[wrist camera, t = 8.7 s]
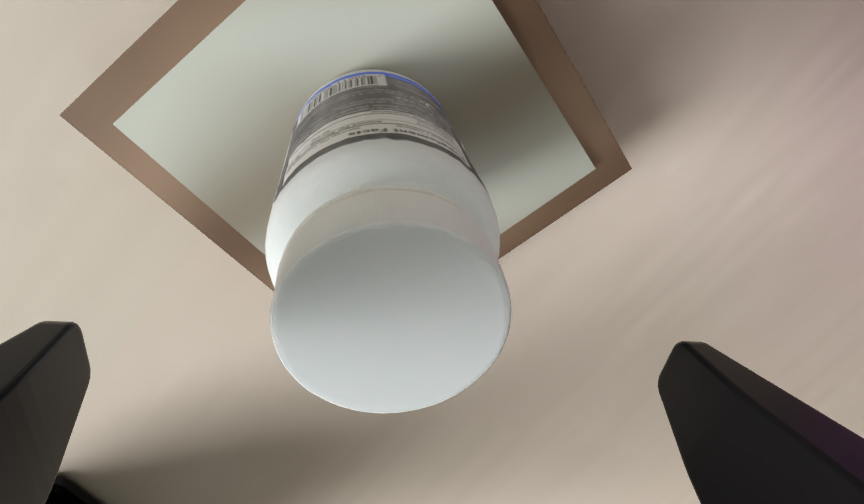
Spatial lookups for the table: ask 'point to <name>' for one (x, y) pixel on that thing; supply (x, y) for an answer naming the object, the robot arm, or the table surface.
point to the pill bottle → (383, 250)
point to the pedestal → (320, 63)
